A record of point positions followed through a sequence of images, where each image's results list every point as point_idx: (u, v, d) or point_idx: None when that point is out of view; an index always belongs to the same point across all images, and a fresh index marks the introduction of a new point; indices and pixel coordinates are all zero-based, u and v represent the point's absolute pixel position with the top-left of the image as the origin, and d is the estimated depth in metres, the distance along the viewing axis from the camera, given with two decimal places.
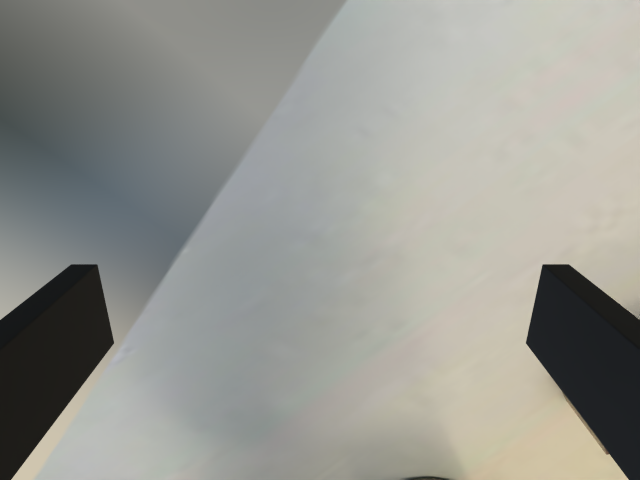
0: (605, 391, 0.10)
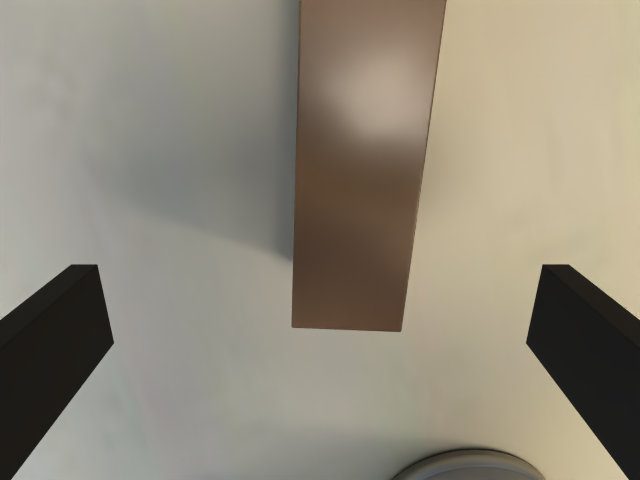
0: (605, 391, 0.10)
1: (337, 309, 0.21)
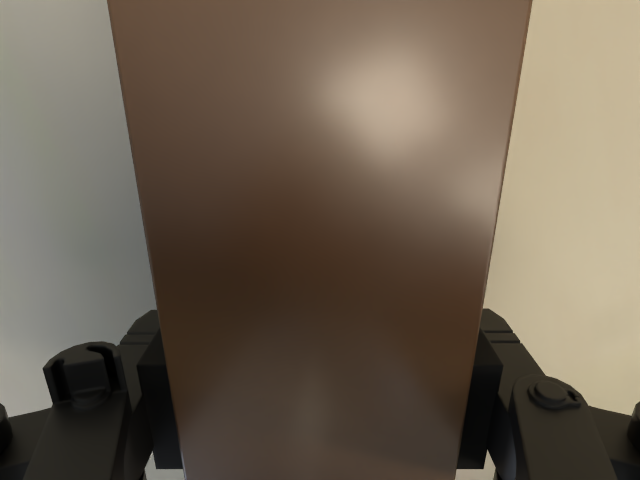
0: None
1: None
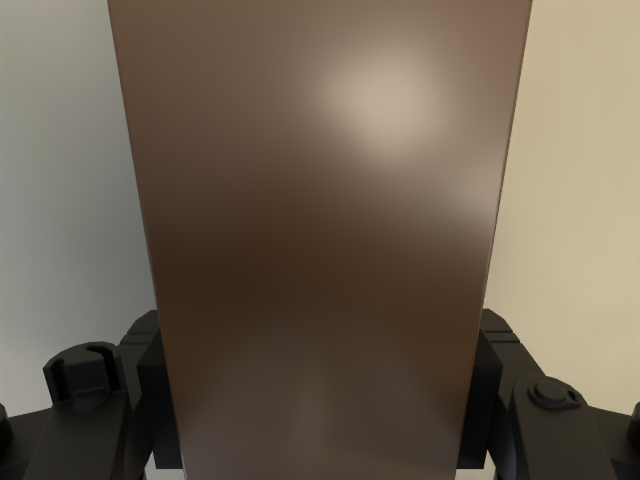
0: None
1: None
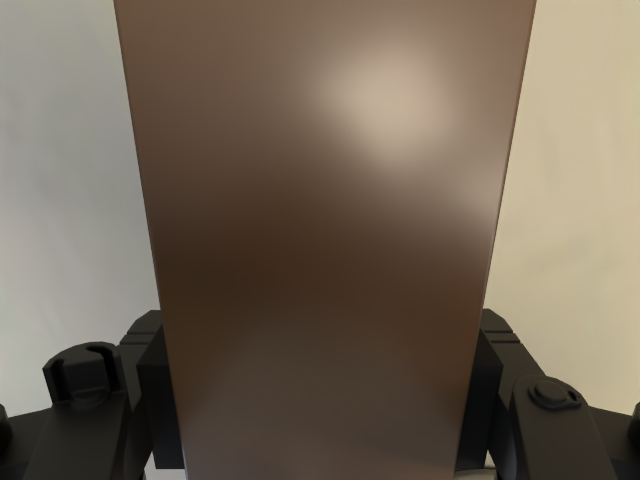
0: None
1: None
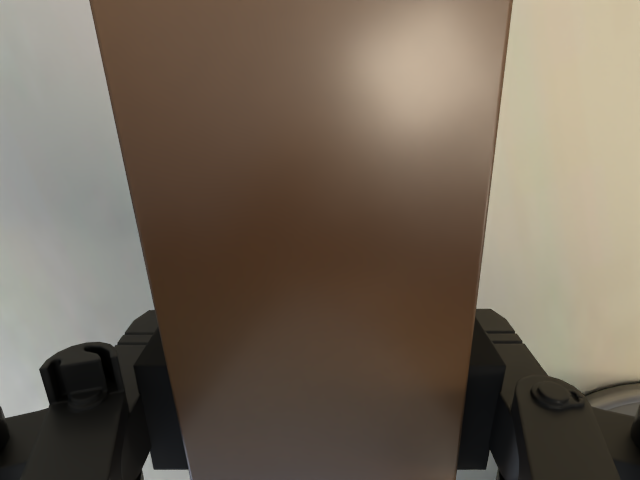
0: None
1: None
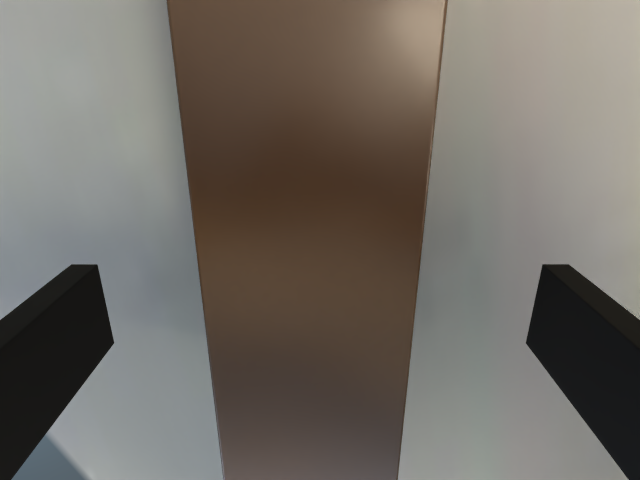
0: (605, 391, 0.10)
1: (293, 459, 0.13)
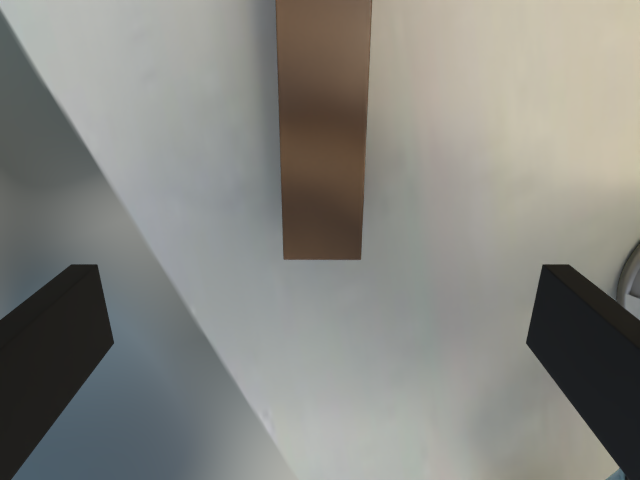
0: (605, 391, 0.10)
1: (314, 245, 0.30)
